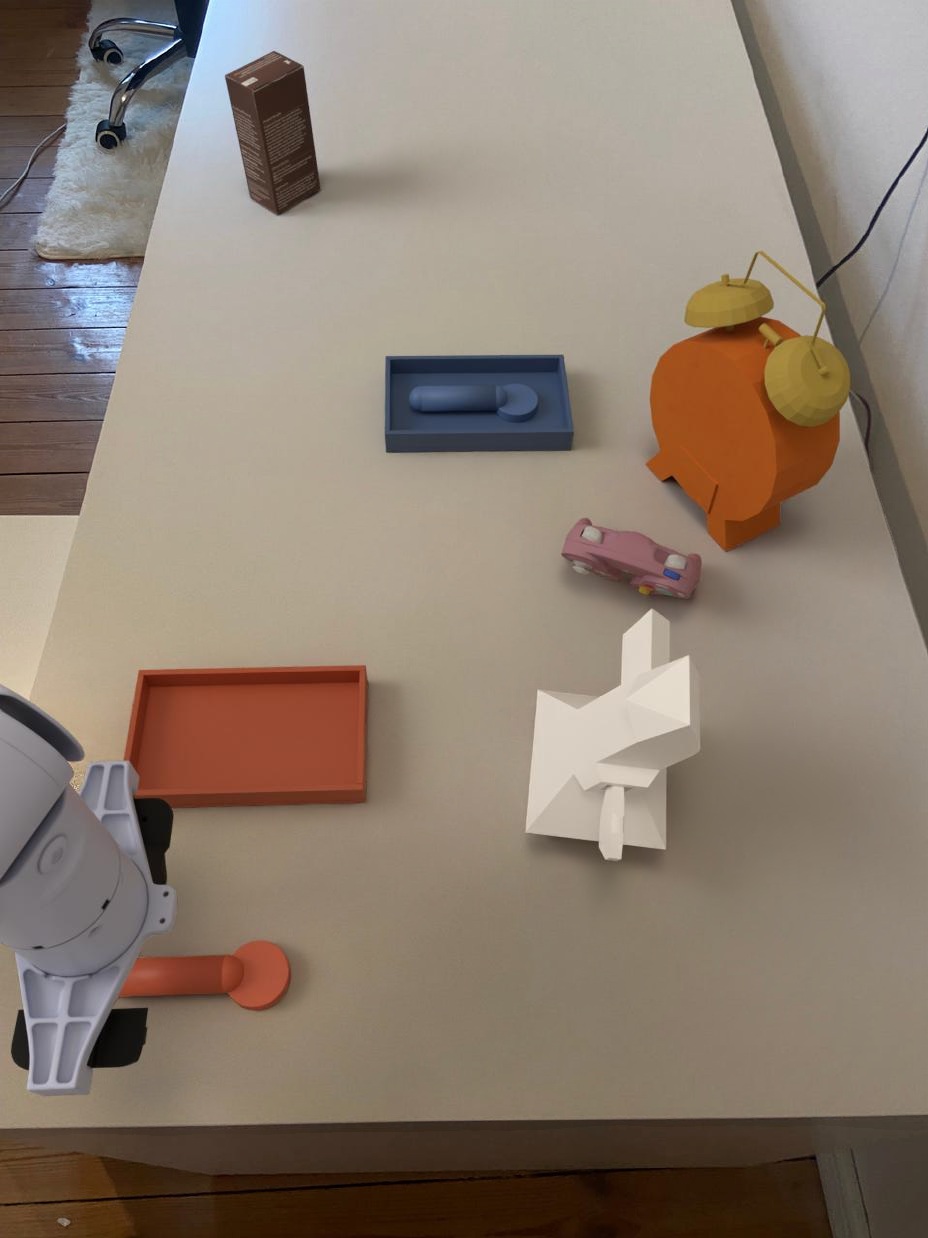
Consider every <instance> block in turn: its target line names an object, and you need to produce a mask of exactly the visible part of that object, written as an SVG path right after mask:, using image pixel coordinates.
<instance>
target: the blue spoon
mask: <svg viewBox="0 0 928 1238" xmlns="http://www.w3.org/2000/svg"><path fill="white" fill-rule="evenodd" d="M409 402H410V405H411V406H412V407H413V408H414V409H415V410H417V411H495V412H496V413H497V415H498V416H500V417H501V418H502V419H504V420H507V421H510V422H523V421H527V420H529V419H531V418H532V417H533V416H534V415H535V414H536V412H537V408H538V396H537V394H536V393H535V391H534V390H533V389H531V388H530V387H528V386H526V385H522V384H508V385H505V386H503V387H501V386H497V385H481V386H418V387H416V388H414V389H413V390H412V391H411V393H410V395H409Z"/></svg>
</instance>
